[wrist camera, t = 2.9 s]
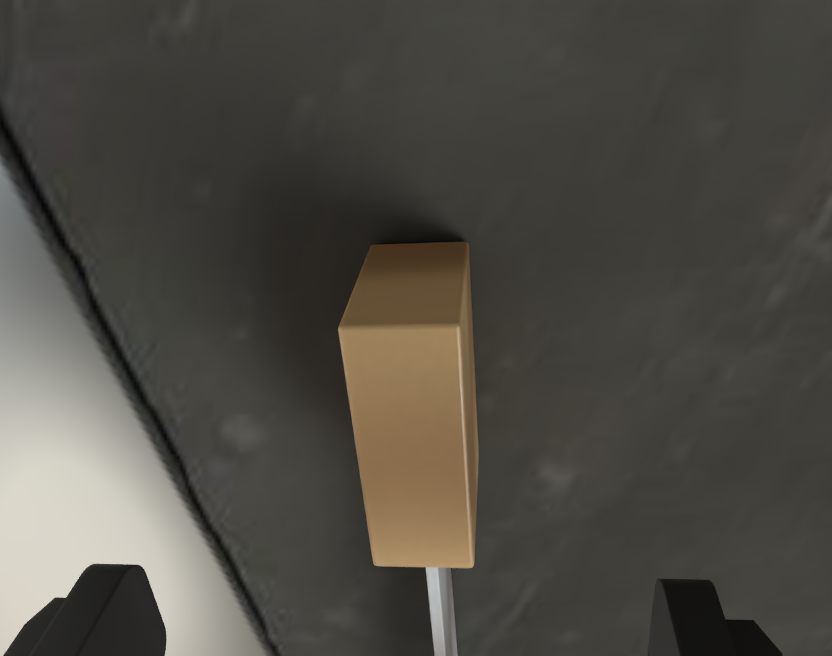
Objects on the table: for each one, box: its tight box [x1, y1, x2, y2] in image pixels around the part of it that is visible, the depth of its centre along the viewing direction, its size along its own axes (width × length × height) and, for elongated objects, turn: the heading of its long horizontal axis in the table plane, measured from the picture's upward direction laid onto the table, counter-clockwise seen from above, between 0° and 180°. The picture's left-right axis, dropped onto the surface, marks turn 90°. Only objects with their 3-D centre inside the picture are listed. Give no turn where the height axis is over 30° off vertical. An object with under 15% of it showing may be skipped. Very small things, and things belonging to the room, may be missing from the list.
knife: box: [338, 242, 479, 656], centre depth 18 cm, size 16×2×4 cm, turn 4°
